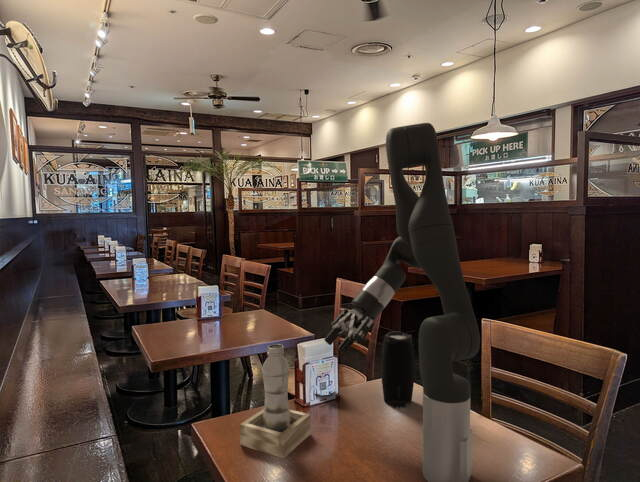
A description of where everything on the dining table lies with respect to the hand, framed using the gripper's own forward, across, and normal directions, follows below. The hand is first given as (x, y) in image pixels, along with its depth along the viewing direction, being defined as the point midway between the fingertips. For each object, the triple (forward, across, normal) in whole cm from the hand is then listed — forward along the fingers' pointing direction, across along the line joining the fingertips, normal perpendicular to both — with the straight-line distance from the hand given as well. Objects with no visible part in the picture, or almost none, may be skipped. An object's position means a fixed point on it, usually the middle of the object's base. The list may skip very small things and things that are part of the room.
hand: (333, 347), depth 109 cm
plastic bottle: (+24, 0, +2) cm, 24 cm away
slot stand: (+25, 0, +4) cm, 26 cm away
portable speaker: (-2, -7, +31) cm, 32 cm away
